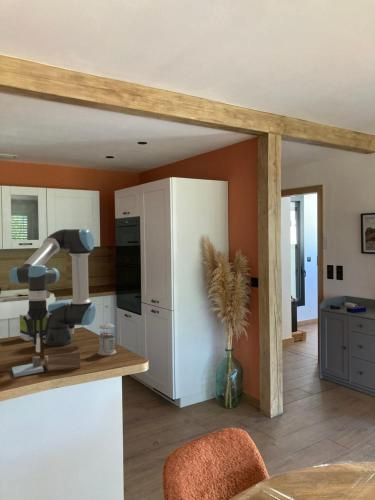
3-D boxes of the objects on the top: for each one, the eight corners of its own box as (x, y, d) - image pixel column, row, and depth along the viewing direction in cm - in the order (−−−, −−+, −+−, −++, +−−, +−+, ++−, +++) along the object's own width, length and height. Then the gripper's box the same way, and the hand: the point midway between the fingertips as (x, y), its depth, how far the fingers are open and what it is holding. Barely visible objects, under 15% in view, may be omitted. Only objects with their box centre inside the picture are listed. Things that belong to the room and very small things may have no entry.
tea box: (43, 334, 256) (43, 310, 255) (51, 337, 249) (51, 312, 248) (19, 338, 245) (19, 313, 245) (26, 341, 238) (26, 316, 238)
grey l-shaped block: (12, 370, 186) (11, 358, 186) (39, 365, 192) (39, 353, 191) (14, 377, 177) (13, 364, 177) (43, 371, 183) (42, 359, 182)
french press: (119, 350, 219) (119, 303, 219) (109, 356, 208) (109, 307, 207) (102, 349, 222) (102, 303, 221) (92, 355, 211) (92, 306, 210)
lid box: (44, 365, 194) (44, 349, 194) (74, 361, 200) (74, 345, 200) (48, 372, 183) (48, 355, 183) (80, 368, 190) (80, 351, 190)
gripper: (23, 301, 180) (23, 355, 180) (54, 299, 186) (54, 351, 186) (21, 299, 186) (21, 351, 187) (51, 297, 192) (51, 347, 193)
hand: (37, 351), depth 187 cm, fingers closed
